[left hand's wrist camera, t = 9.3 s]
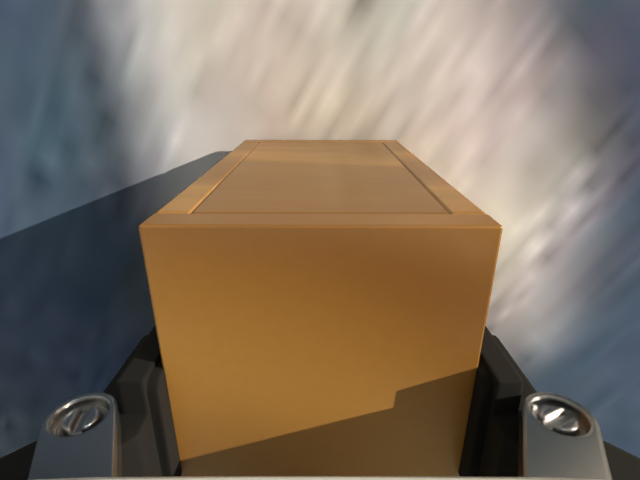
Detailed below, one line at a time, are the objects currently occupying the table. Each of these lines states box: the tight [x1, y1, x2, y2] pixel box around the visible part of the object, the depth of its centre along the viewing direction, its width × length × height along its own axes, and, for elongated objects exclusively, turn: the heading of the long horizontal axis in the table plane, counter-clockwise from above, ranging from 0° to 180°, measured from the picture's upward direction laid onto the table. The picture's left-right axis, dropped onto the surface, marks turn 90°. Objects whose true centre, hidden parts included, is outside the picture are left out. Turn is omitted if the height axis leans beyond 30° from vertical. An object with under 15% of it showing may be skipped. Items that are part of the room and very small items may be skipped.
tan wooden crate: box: [139, 140, 502, 477], centre depth 15 cm, size 18×6×11 cm, turn 0°
